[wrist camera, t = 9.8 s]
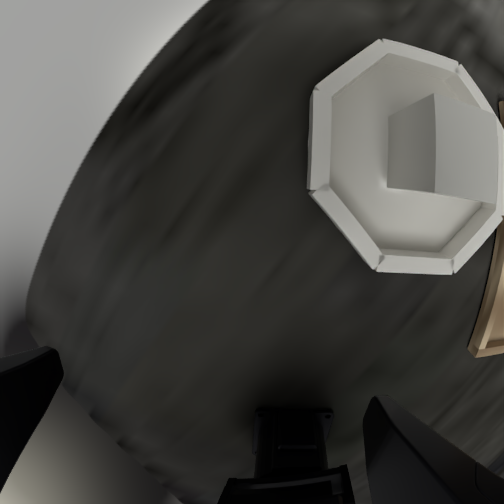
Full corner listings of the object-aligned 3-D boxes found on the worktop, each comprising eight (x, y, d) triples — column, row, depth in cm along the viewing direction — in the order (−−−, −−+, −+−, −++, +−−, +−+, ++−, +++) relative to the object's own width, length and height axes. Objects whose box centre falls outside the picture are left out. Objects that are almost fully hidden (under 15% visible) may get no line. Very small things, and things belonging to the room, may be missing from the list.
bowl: (476, 266, 17) (494, 276, 15) (300, 256, 18) (304, 267, 16) (483, 87, 14) (501, 81, 12) (308, 43, 15) (312, 26, 13)
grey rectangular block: (439, 195, 16) (495, 204, 10) (386, 187, 16) (434, 192, 11) (440, 128, 15) (496, 114, 9) (388, 116, 15) (433, 92, 9)
